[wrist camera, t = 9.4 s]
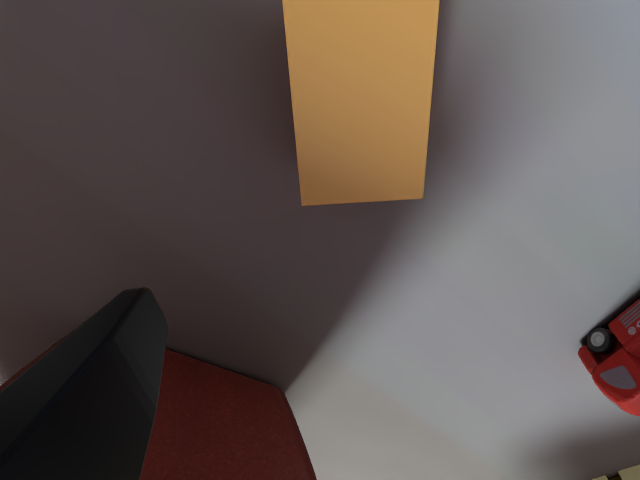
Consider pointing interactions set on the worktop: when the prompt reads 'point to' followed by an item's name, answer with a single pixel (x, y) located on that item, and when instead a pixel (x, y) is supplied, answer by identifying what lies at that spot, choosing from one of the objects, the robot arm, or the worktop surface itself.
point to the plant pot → (218, 426)
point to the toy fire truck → (616, 359)
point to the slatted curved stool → (625, 474)
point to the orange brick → (361, 96)
